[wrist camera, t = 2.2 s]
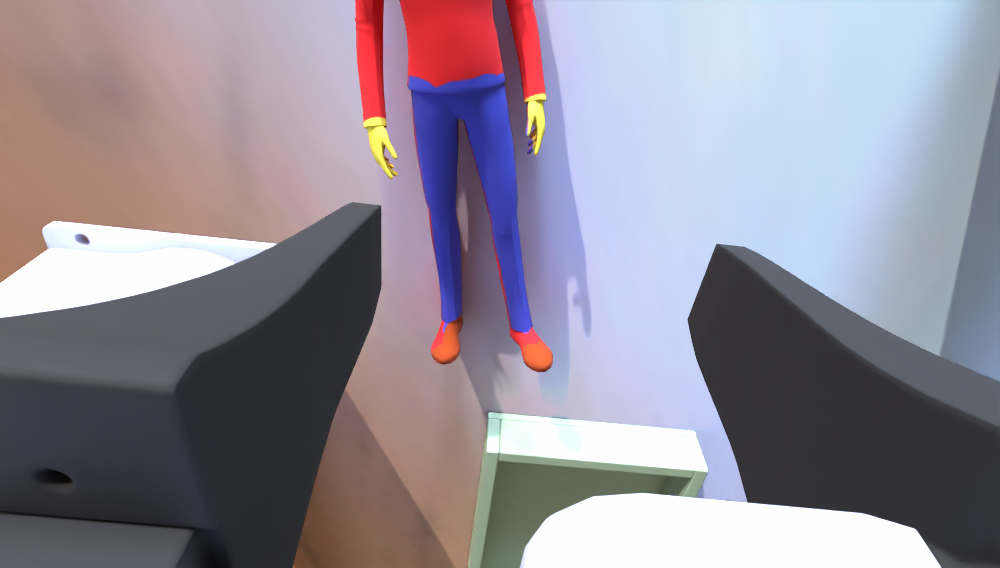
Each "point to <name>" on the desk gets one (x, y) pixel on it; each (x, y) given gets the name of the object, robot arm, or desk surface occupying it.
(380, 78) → the character figure
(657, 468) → the tray
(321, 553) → the desk surface
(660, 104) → the desk surface
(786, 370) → the robot arm
